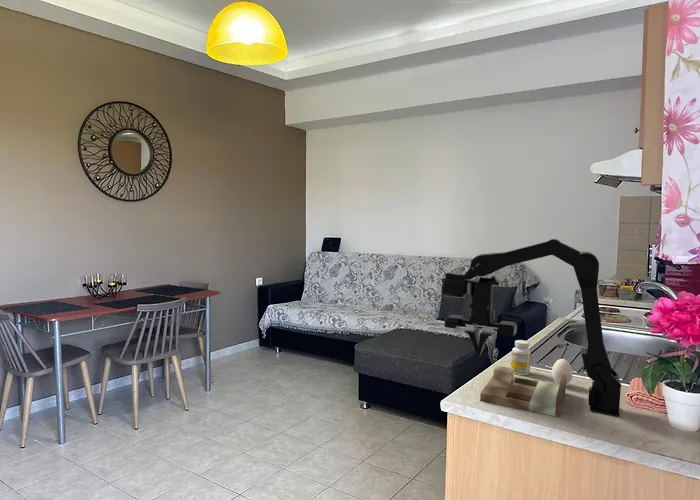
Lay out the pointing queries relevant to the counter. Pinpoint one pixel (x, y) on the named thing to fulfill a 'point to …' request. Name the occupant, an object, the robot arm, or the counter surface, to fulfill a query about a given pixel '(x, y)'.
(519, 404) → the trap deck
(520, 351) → the supplement bottle
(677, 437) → the counter surface
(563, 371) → the egg
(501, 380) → the birch block
